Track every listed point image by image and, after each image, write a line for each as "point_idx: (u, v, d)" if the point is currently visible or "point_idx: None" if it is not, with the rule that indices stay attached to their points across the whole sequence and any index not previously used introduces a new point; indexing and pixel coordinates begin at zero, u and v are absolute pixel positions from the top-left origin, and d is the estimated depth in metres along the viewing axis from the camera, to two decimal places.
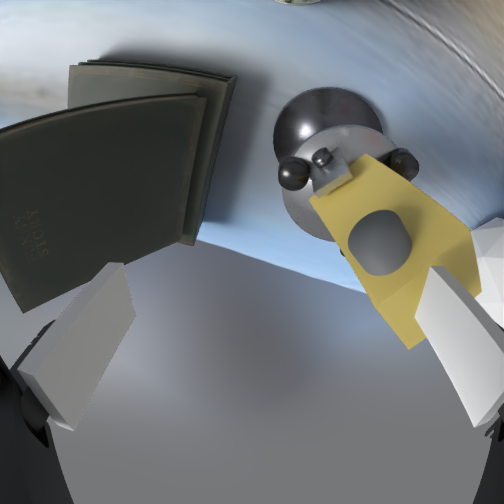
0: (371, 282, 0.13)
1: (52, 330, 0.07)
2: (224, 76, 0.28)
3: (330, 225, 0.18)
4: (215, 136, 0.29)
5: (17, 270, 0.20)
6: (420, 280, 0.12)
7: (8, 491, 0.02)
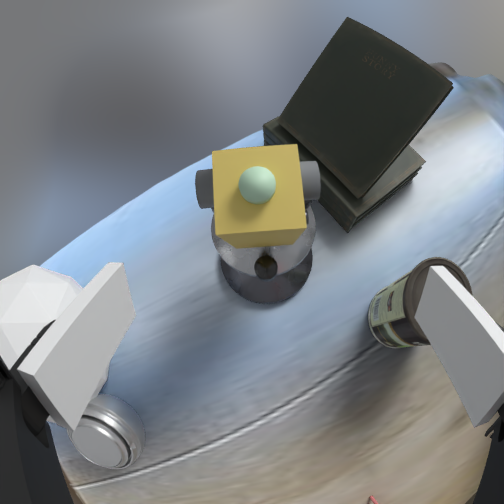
0: None
1: (52, 330, 0.07)
2: (354, 223, 0.44)
3: None
4: (328, 187, 0.42)
5: (373, 41, 0.30)
6: (293, 177, 0.19)
7: (8, 491, 0.02)
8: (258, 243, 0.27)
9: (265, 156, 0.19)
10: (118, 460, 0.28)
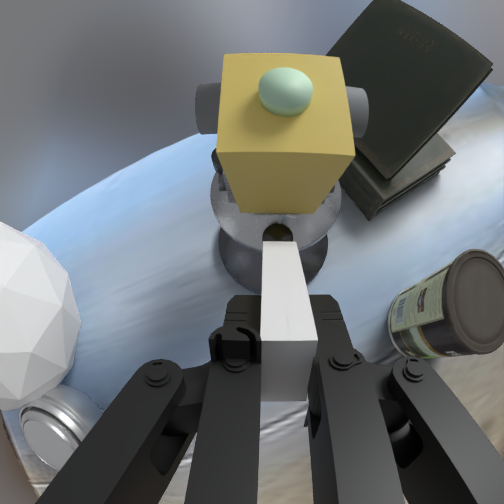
0: None
1: (268, 299, 0.09)
2: (379, 210, 0.37)
3: None
4: (352, 165, 0.35)
5: (409, 15, 0.24)
6: (336, 91, 0.12)
7: (223, 498, 0.03)
8: (272, 200, 0.20)
9: (297, 64, 0.12)
10: None
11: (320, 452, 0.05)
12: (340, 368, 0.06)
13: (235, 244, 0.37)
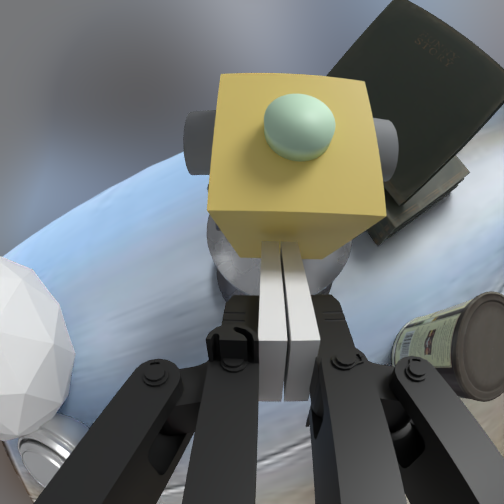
0: None
1: (266, 299, 0.09)
2: (388, 236, 0.34)
3: None
4: None
5: (428, 23, 0.21)
6: (362, 126, 0.10)
7: (221, 498, 0.03)
8: None
9: (313, 88, 0.10)
10: None
11: (322, 452, 0.05)
12: (343, 368, 0.06)
13: None
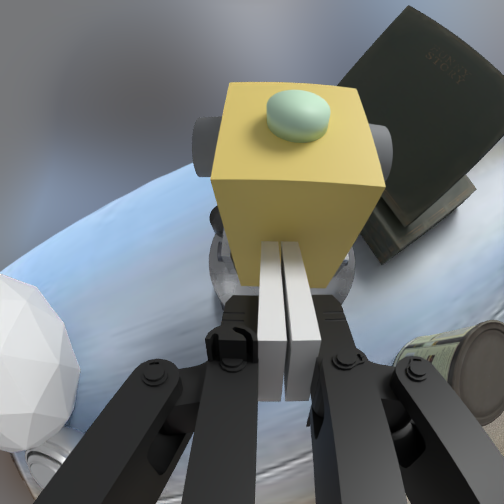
0: None
1: (265, 299, 0.09)
2: (393, 255, 0.34)
3: None
4: None
5: (440, 37, 0.20)
6: (356, 119, 0.10)
7: (220, 498, 0.03)
8: None
9: (310, 92, 0.11)
10: None
11: (323, 452, 0.05)
12: (344, 368, 0.06)
13: None
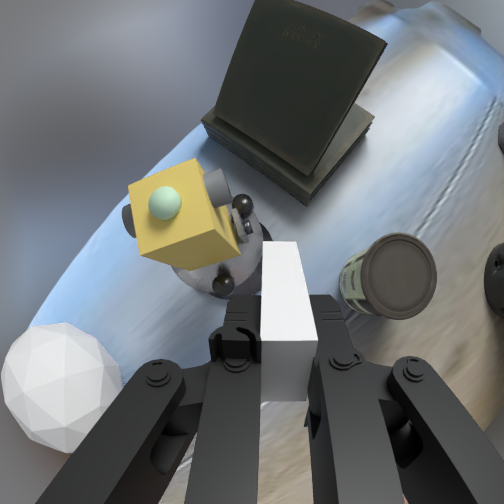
0: (201, 170, 0.22)
1: (268, 299, 0.09)
2: (311, 197, 0.45)
3: None
4: (277, 170, 0.43)
5: (291, 11, 0.28)
6: (196, 187, 0.21)
7: (223, 498, 0.03)
8: (201, 259, 0.28)
9: (169, 176, 0.21)
10: None
11: (320, 452, 0.05)
12: (341, 368, 0.06)
13: None
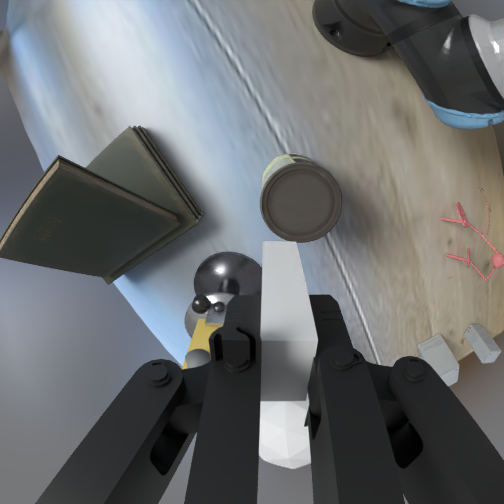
0: None
1: (268, 299, 0.09)
2: (197, 211, 0.48)
3: (193, 339, 0.37)
4: (168, 242, 0.47)
5: (21, 236, 0.28)
6: None
7: (223, 498, 0.03)
8: None
9: None
10: None
11: (320, 452, 0.05)
12: (340, 368, 0.06)
13: None
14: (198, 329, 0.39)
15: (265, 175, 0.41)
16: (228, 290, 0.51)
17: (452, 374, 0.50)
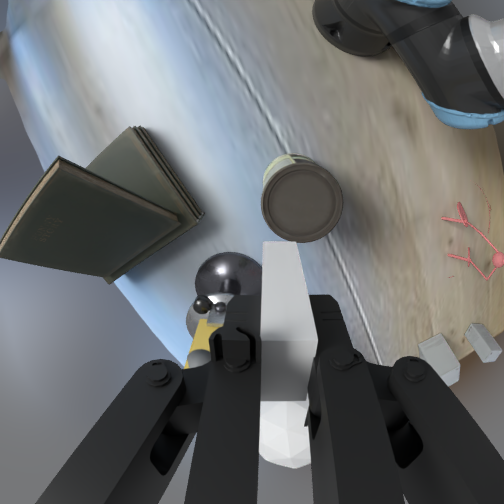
0: None
1: (268, 299, 0.09)
2: (198, 211, 0.48)
3: (195, 339, 0.37)
4: (168, 242, 0.47)
5: (21, 237, 0.28)
6: None
7: (223, 498, 0.03)
8: None
9: None
10: None
11: (320, 452, 0.05)
12: (341, 368, 0.06)
13: None
14: (200, 329, 0.39)
15: (266, 175, 0.41)
16: (230, 290, 0.51)
17: (453, 374, 0.50)
